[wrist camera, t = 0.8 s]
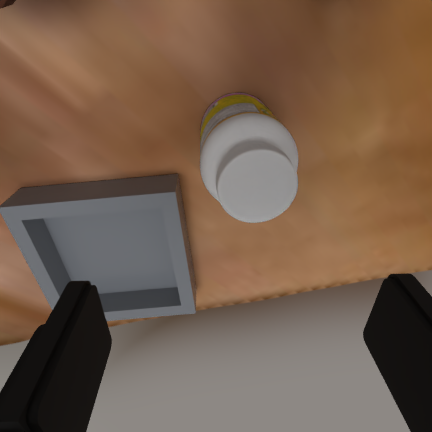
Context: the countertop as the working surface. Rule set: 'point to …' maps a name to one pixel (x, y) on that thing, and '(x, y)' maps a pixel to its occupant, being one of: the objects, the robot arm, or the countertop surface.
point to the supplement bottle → (247, 158)
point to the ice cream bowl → (6, 3)
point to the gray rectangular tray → (109, 243)
